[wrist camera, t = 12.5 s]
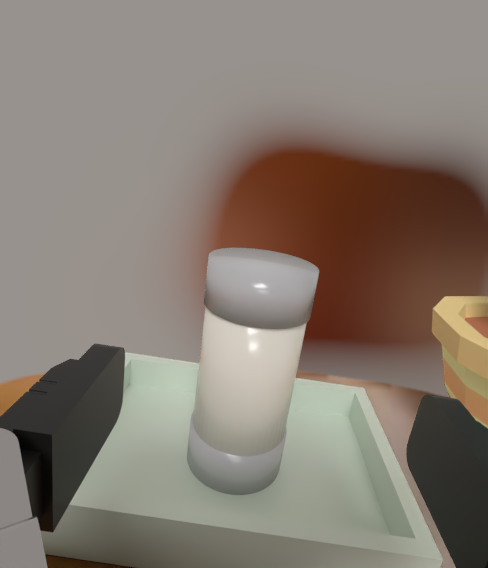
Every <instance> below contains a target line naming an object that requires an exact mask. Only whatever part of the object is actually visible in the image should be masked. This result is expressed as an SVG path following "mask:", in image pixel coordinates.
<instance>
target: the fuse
mask: <svg viewBox="0 0 488 568" xmlns="http://www.w3.org/2000/svg"><path fill="white" fill-rule="evenodd" d="M318 275H319V269H318V268H317V267H316V266H315V265H313V264H312V263H310V262H308V261H305V260H303V259H300V258H297V257H294V256H291V255H287V254H283V253H278V252H273V251H267V250H260V249H250V248H224V249H218V250H215V251H212V252H211V253H210V254H209V259H208V268H207V277H206V286H205V296H204V304H205V306H206V307H205V317H204V325H203V334H202V343H201V352H200V361H199V369H198V378H197V387H196V396H195V405H194V411H193V413H192V415H191V421H190V430H189V439H188V448H187V462H188V465H189V468H190V470H191V472H192V473H193V474H194V476H195V477H196V478H197V479H198V480H199V481H200V482H201V483H203V484H204V485H206V486H207V487H209V488H211V489H213V490H215V491H218V492H221V493H225V494H231V495H247V494H252V493H256V492H259V491H261V490H263V489H265V488H267V487H268V486H269V485H271V484H272V483H273V482H274V480H275V479H276V477H277V475H278V473H279V469H280V464H281V459H282V454H283V449H284V444H285V439H286V434H287V429H286V423H287V418H288V413H289V408H290V403H291V398H292V393H293V388H294V383H295V378H296V373H297V367H298V363H299V358H300V353H301V348H302V343H303V338H304V333H305V327H306V323H307V322H308V320H309V318H310V315H311V310H312V305H313V300H314V295H315V290H316V285H317V280H318Z"/></svg>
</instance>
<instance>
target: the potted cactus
mask: <svg viewBox="0 0 488 568" xmlns="http://www.w3.org/2000/svg"><path fill="white" fill-rule="evenodd" d="M432 333H433V335H434V336H435V337H436V338H437V339H438V340H439V341H440V343H441V344H442V356H443V371H444V385H445V387H446V390H447V392H448V394H449V397H450V398H455V399H458V400H459V401H460V402H461V403H462V404H463V405H464V406H465V408H466V409H467V410H468V411H469V412H470V414H471V415H472V416H473V417H474V419H475V420H476V421H478V422H480V423H481V424H482V425H484V426H485V427H486V428H488V297H486V296H453V297H452V296H451V297H449V296H448V297H446V296H445V297H444V298H443V299H442V300H441V301H440V302H439V303H438V304H437V305H436V306H435V307H434V308H433V317H432Z"/></svg>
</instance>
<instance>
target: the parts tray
mask: <svg viewBox="0 0 488 568" xmlns="http://www.w3.org/2000/svg"><path fill="white" fill-rule="evenodd" d="M198 369H199V363H193V362H187V361H181V360H174V359H167V358H160V357H154V356H147V355H141V354H134V353H127V352H125V368H124V387H123V402H122V407H121V411H120V415H119V418H118V420H117V422H116V424H115V426H114V428H113V429H112V431H111V433H110V435H109V436H108V438H107V440H106V442H105V443H104V445H103V447H102V448H101V450H100V452H99V454H98V455H97V457H96V459H95V461H94V462H93V464H92V466H91V468H90V469H89V471H88V473H87V474H86V476H85V478H84V480H83V481H82V483H81V485H80V487H79V488H78V490H77V492H76V494H75V495H74V497H73V499H72V500H71V502H70V504H69V506H68V507H67V509H66V511H65V513H64V514H63V516H62V518H61V520H60V521H59V523H58V525H57V526H56V528H55V530H54V532H53V533H52V532H46V531H40V532H41V537H42V542H43V547H44V552H45V554H47V555H54V556H61V557H67V558H74V559H81V560H88V561H94V562H101V563H108V564H115V565H121V566H128V567H135V568H440V567H441V565H442V562H443V558H442V556H441V554H440V552H439V550H438V548H437V545H436V543H435V541H434V539H433V537H432V535H431V532H430V530H429V528H428V526H427V524H426V522H425V519H424V517H423V515H422V513H421V511H420V509H419V506H418V504H417V502H416V500H415V498H414V496H413V493H412V491H411V489H410V487H409V485H408V483H407V480H406V478H405V476H404V474H403V472H402V470H401V467H400V465H399V463H398V461H397V459H396V457H395V454H394V452H393V450H392V448H391V446H390V444H389V441H388V439H387V437H386V435H385V433H384V431H383V429H382V426H381V424H380V422H379V420H378V418H377V416H376V413H375V411H374V409H373V407H372V405H371V403H370V400H369V398H368V396H367V394H366V392H365V390H364V388H360V387H354V386H347V385H340V384H334V383H327V382H320V381H314V380H307V379H300V378H295V383H294V388H293V393H292V398H291V403H290V408H289V413H288V418H287V423H286V429H287V434H286V439H285V444H284V449H283V454H282V459H281V464H280V469H279V473H278V475H277V477H276V479H275V480H274V482H273V483H272V484H271V485H269V486H268V487H267V488H265V489H263V490H261V491H259V492H256V493H252V494H247V495H231V494H225V493H221V492H218V491H215V490H213V489H211V488H209V487H207V486H206V485H204V484H203V483H201V482H200V481H199V480H198V479H197V478H196V477H195V476H194V474H193V473H192V472H191V470H190V468H189V465H188V462H187V448H188V439H189V430H190V421H191V415H192V413H193V411H194V405H195V396H196V387H197V378H198Z"/></svg>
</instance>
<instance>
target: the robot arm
mask: <svg viewBox="0 0 488 568" xmlns="http://www.w3.org/2000/svg"><path fill="white" fill-rule="evenodd" d="M124 368H125V351H124V348H121V347H114V346H108V345H107V346H106V345H101V344H94V345H93V346H92V347H91V348H90V349H89V350H88V351H87V352H86V353H85V354H84V355H83V356H82V357H81V358H80V359H79V360H74V359H69V360H67V361H65V362H63V363H61V364H59V365H57V366H55V367H53V368H51V369H50V370H49V371H48V372H47V373H46V374H45V375H44V376H43V377H42V378H41V379H40V381H39V382H36V383H35V384H34V385H33V386H32V387H31V388H30V389H29V392H26V393H25V394H24V395H23V396H22V397H21V398H20V399H19V400H18V401H17V402H16V403H14V404H13V405H12V406H11V407H10V408H9V409H8V410H7V411H6V412H5V413H4V414H3V415H2V416H1V417H0V568H48V567H47V562H46V557H45V552H44V547H43V542H42V537H41V532H40V531H46V532H52V533H53V532H54V530H55V528H56V526H57V525H58V523H59V521H60V520H61V518H62V516H63V514H64V513H65V511H66V509H67V507H68V506H69V504H70V502H71V500H72V499H73V497H74V495H75V494H76V492H77V490H78V488H79V487H80V485H81V483H82V481H83V480H84V478H85V476H86V474H87V473H88V471H89V469H90V468H91V466H92V464H93V462H94V461H95V459H96V457H97V455H98V454H99V452H100V450H101V448H102V447H103V445H104V443H105V442H106V440H107V438H108V436H109V435H110V433H111V431H112V429H113V428H114V426H115V424H116V422H117V420H118V418H119V415H120V411H121V407H122V402H123V387H124ZM407 462H408V466H409V469H410V471H411V473H412V475H413V478H414V480H415V482H416V484H417V486H418V488H419V490H420V492H421V494H422V497H423V499H424V501H425V503H426V505H427V507H428V509H429V511H430V513H431V516H432V518H433V520H434V522H435V524H436V526H437V528H438V530H439V532H440V534H441V537H442V539H443V541H444V543H445V545H446V547H447V549H448V551H449V553H450V556H451V558H452V560H453V562H454V564H455V566H456V568H488V428H486V427H485V426H484V425H482V424H481V423H480V422H478V421H476V420H475V419H474V417H473V416H472V415H471V414H470V412H469V411H468V410H467V409H466V408H465V406H464V405H463V404H462V403H461V402H460V401H459V400H458V399H455V398H448V397H442V396H435V395H425V396H424V397H423V398H422V400H421V403H420V406H419V409H418V412H417V415H416V418H415V421H414V425H413V428H412V431H411V434H410V437H409V440H408V444H407Z"/></svg>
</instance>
